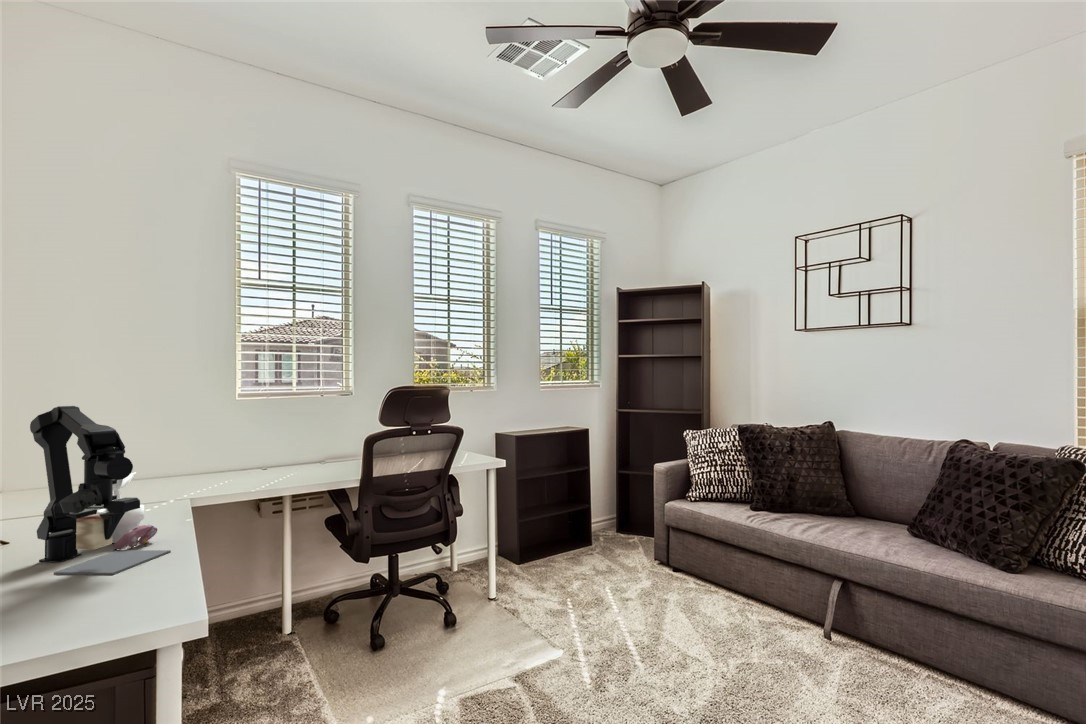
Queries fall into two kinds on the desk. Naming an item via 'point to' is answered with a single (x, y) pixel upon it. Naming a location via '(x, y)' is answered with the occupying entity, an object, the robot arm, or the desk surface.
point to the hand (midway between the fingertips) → (98, 539)
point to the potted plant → (130, 517)
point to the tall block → (91, 532)
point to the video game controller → (136, 536)
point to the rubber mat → (113, 562)
